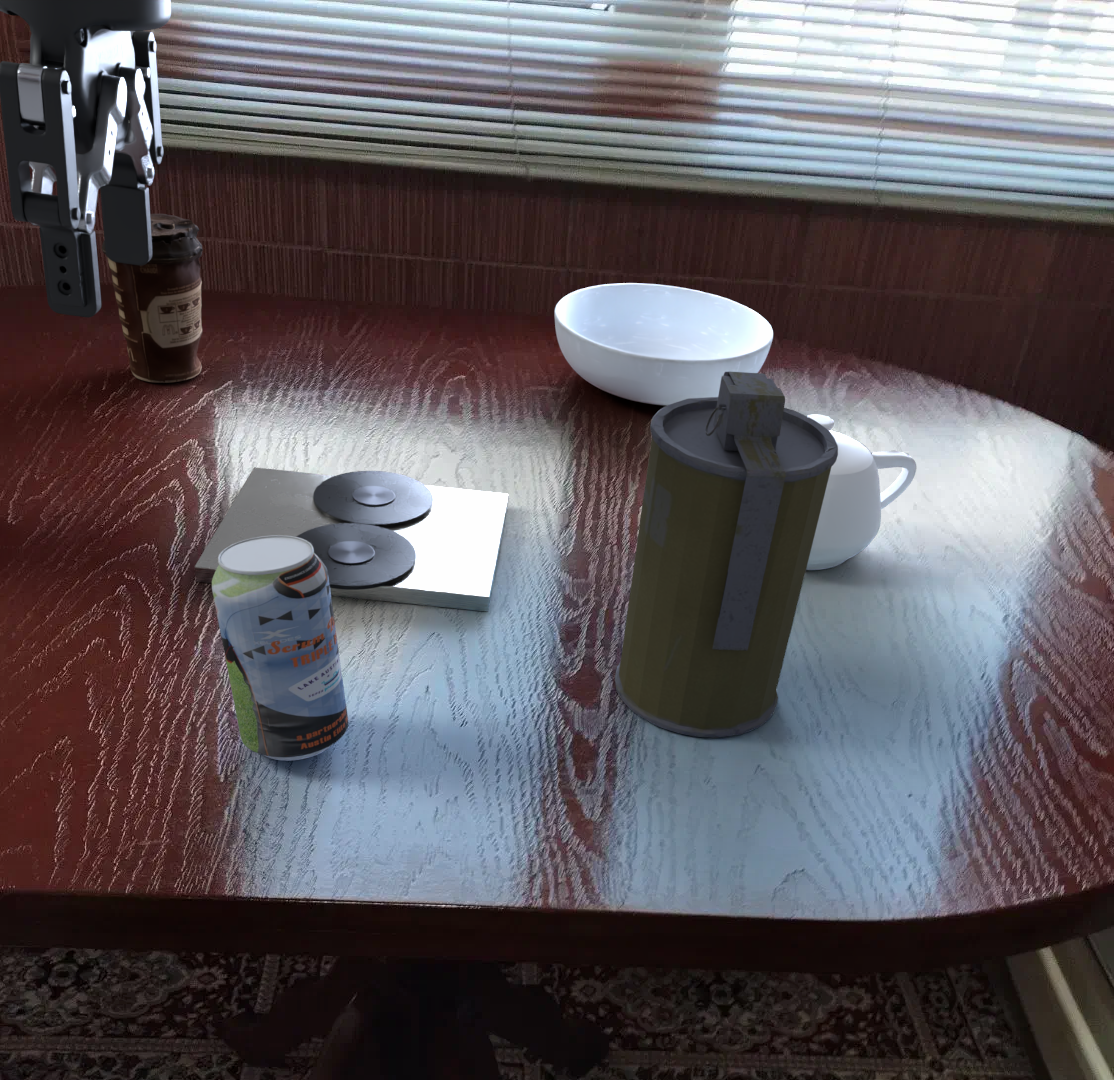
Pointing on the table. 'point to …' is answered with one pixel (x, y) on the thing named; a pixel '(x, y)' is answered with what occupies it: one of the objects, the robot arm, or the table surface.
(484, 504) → the hob
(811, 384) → the table surface
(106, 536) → the table surface
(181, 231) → the coffee cup
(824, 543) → the teapot
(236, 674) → the beverage can
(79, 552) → the table surface
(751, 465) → the canister
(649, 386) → the serving bowl
